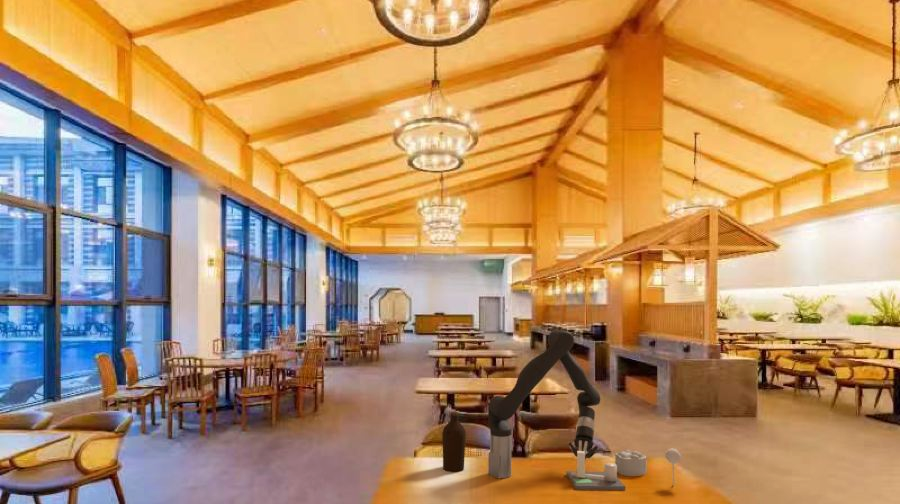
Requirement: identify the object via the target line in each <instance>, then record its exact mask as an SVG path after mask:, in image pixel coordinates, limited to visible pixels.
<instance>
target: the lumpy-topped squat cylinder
mask: <svg viewBox="0 0 900 504" xmlns="http://www.w3.org/2000/svg"><path fill="white" fill-rule="evenodd" d="M614 456H615V458H614V459H615V460H614V464H616V465H617V473H618V474H620V475H622V476H625V477H626V476H627V477H641V475H642V476H644V475H645V476H646V474H647V472H648V471H647V469H648V468H647V467H648V466H647V465H648V464H647V463H648V461H647V455H645V454H644V453H641V452H639V451H636V450H635V451H634V450H633V451H631V450H630V449H626V450H624V451H622V450H620V451H618V452H615V455H614Z"/></svg>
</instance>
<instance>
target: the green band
mask: <svg viewBox="0 0 900 504" xmlns="http://www.w3.org/2000/svg"><path fill="white" fill-rule="evenodd" d="M573 480H574V481H575V482H576V483H593V482H592V481H591V480H590V479H573Z"/></svg>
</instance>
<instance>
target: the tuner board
mask: <svg viewBox="0 0 900 504" xmlns="http://www.w3.org/2000/svg"><path fill="white" fill-rule="evenodd" d="M571 472H572V473H577V470H566V471H565V475H566V477H567V478H568V480H569V481H570V483H571V484H572V486H573V487H574V489H575V490H579V491H580V490H581V491H583V490H584V491H587V490H589V491H590V490H591V491H595V490H598V491H626V485H624V483H623V482H622V481H621V480H620V479H619V478H618V477H617V481H615V482H610V481H606V480H605V479H602V478H593V477H585V478H582V477H577V476H575V475H571ZM585 474H591V475H600V476H604V471H599V470H598V471H596V470H595V471H591V470H590V471H589V470H587V471H586V470H585ZM573 479H590V480H591V481H592V482H593V483H576V482H575V481H574V480H573Z"/></svg>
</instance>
